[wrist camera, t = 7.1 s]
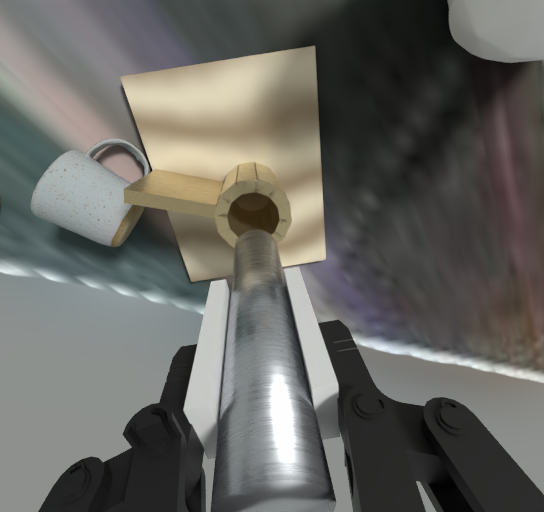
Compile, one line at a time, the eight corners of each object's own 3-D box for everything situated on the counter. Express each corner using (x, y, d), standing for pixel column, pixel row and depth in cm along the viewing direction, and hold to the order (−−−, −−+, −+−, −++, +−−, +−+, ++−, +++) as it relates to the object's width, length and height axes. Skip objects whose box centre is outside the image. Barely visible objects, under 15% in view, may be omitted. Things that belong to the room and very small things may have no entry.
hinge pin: (230, 233, 18) (194, 496, 6) (274, 226, 18) (334, 471, 6) (239, 270, 19) (226, 545, 7) (280, 264, 19) (337, 525, 7)
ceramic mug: (133, 235, 34) (106, 265, 27) (65, 201, 31) (16, 224, 25) (170, 165, 31) (150, 178, 24) (98, 119, 28) (51, 119, 21)
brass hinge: (152, 169, 30) (118, 189, 22) (275, 149, 30) (285, 162, 22) (191, 281, 37) (176, 327, 29) (289, 265, 37) (301, 306, 29)
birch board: (124, 78, 26) (119, 76, 25) (312, 47, 26) (315, 45, 26) (192, 278, 38) (191, 282, 37) (324, 256, 38) (325, 259, 37)
